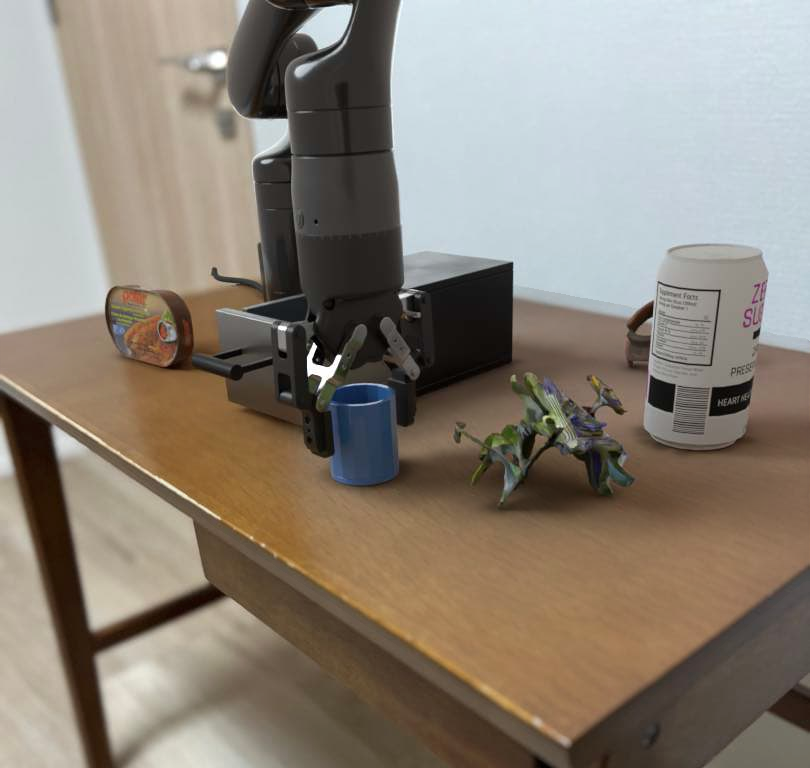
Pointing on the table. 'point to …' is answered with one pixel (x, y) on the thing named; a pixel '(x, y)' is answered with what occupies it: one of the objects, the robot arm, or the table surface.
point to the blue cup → (364, 434)
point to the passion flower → (555, 436)
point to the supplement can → (704, 344)
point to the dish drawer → (265, 356)
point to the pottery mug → (638, 336)
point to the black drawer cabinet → (463, 314)
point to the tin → (149, 324)
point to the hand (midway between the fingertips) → (364, 438)
